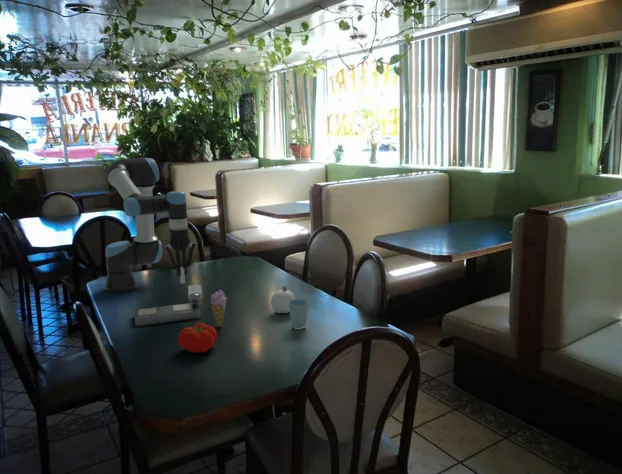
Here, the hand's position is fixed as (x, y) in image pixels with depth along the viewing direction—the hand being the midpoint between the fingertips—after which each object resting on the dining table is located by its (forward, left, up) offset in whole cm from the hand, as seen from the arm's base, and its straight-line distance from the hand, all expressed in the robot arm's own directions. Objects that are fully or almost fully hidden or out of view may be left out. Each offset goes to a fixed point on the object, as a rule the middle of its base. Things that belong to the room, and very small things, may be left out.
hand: (182, 282), depth 215 cm
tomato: (+43, +1, -13) cm, 45 cm away
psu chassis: (+4, -7, -13) cm, 16 cm away
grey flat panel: (-5, +5, -8) cm, 10 cm away
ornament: (+17, +40, -13) cm, 45 cm away
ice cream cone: (+23, +12, -13) cm, 29 cm away
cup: (+35, +41, -13) cm, 55 cm away
